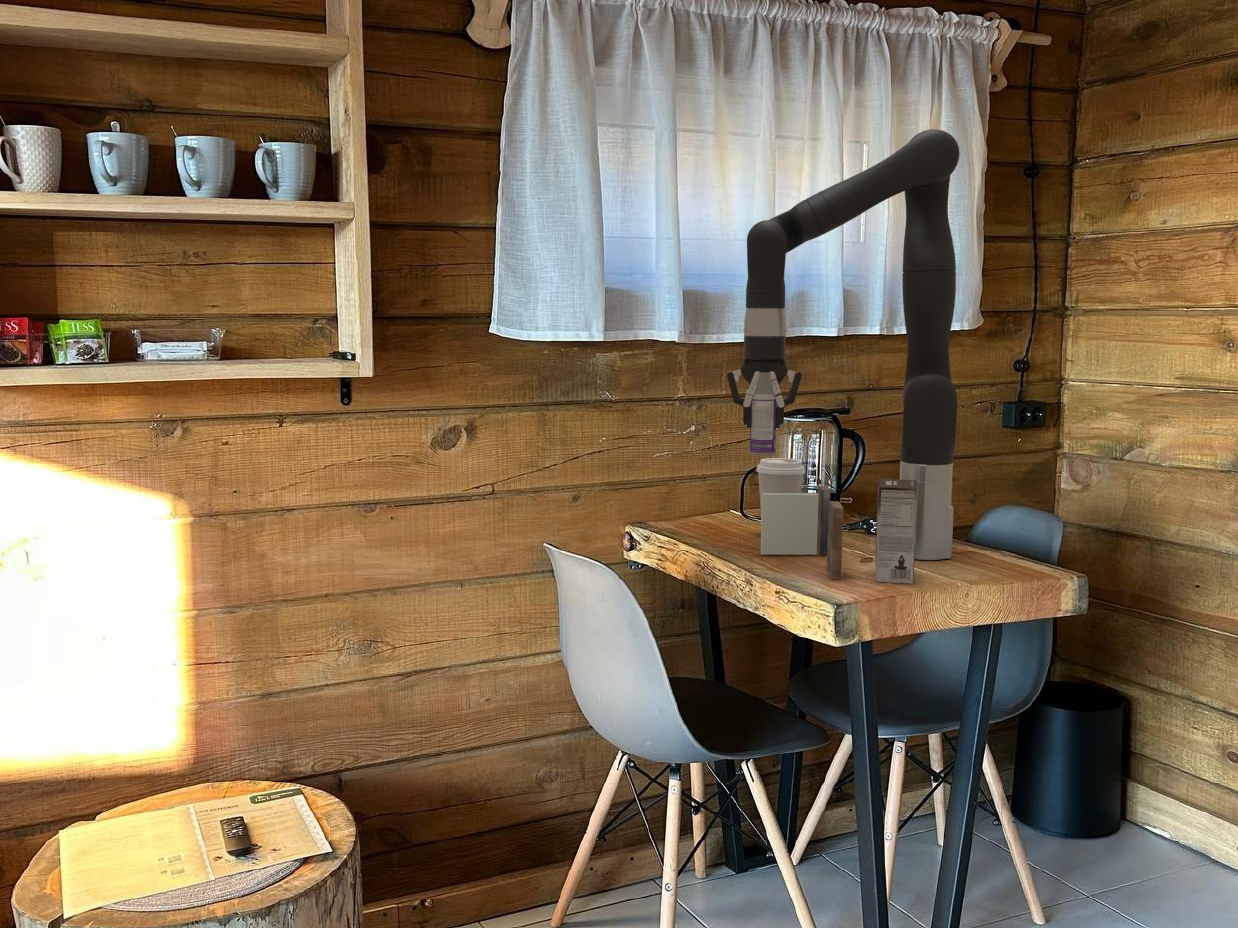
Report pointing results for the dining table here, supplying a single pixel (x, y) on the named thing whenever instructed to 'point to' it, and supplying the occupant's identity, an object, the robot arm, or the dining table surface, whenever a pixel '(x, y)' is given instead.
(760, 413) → the container
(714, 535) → the dining table surface
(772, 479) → the coffee cup
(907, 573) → the coffee box
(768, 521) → the door leaf
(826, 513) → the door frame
